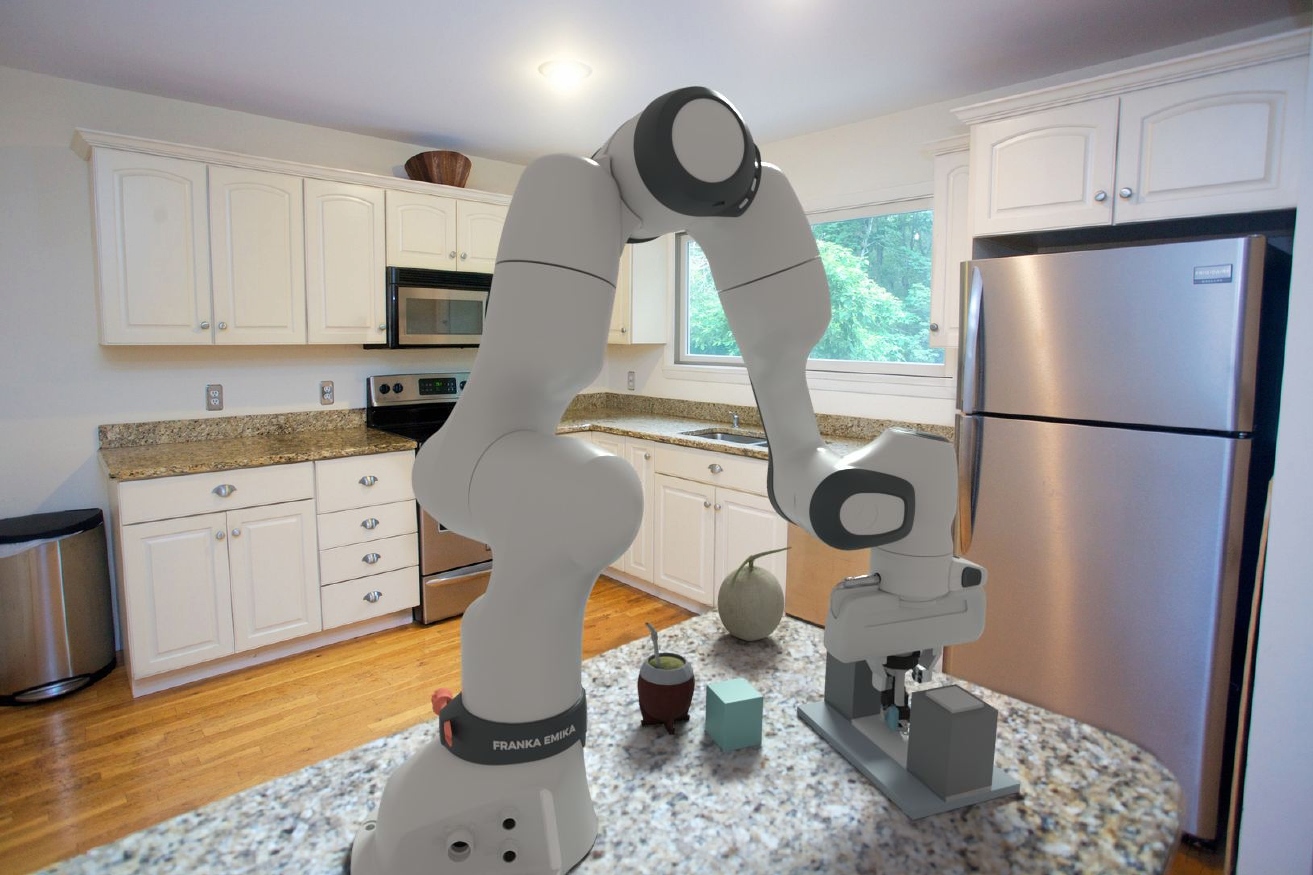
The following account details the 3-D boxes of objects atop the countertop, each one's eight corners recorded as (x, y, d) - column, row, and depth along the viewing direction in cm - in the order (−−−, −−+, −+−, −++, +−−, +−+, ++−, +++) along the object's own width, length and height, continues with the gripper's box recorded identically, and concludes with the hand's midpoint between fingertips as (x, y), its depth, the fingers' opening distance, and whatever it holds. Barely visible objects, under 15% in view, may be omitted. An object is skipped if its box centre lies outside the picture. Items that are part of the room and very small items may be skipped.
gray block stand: (912, 819, 73) (920, 722, 72) (796, 712, 93) (800, 635, 92) (1019, 791, 78) (1028, 700, 77) (887, 695, 98) (892, 622, 97)
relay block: (763, 696, 86) (761, 743, 86) (743, 677, 90) (741, 722, 91) (725, 703, 84) (723, 752, 85) (706, 683, 88) (705, 730, 89)
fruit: (700, 639, 116) (702, 548, 113) (740, 619, 124) (743, 533, 122) (756, 659, 109) (760, 562, 107) (795, 636, 118) (799, 546, 115)
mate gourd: (683, 704, 95) (686, 594, 93) (703, 736, 88) (707, 617, 85) (627, 711, 93) (629, 598, 91) (643, 745, 86) (645, 623, 83)
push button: (929, 739, 83) (932, 654, 82) (882, 739, 83) (885, 654, 82) (908, 711, 89) (911, 632, 88) (864, 711, 89) (867, 632, 88)
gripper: (849, 589, 76) (842, 712, 78) (999, 569, 83) (989, 683, 85) (815, 570, 82) (809, 685, 84) (959, 553, 89) (950, 660, 91)
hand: (901, 684), depth 85 cm, fingers closed on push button, 4 cm apart
